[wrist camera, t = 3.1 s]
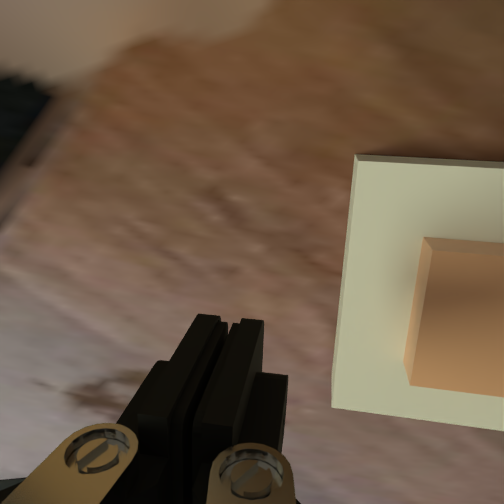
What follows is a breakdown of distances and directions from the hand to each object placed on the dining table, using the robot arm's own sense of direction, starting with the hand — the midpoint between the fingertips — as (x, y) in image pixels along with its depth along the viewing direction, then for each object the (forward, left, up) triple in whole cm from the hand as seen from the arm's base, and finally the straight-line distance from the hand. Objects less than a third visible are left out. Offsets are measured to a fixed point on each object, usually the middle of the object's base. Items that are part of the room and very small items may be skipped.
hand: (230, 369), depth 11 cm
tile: (-8, 0, -6) cm, 11 cm away
